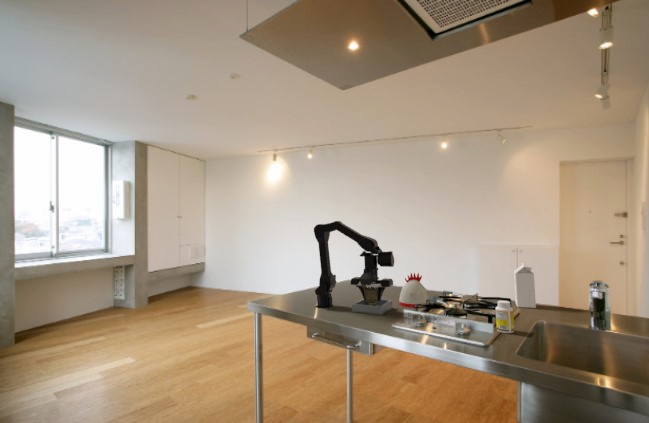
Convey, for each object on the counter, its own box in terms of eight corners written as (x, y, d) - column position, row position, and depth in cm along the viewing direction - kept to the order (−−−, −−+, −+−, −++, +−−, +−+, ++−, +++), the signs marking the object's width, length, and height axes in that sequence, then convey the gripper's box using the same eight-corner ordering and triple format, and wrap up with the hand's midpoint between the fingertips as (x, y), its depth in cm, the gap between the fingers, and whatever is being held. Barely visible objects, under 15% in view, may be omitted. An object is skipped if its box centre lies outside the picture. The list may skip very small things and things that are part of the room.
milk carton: (517, 307, 154) (515, 264, 155) (515, 304, 161) (513, 262, 162) (536, 308, 151) (533, 264, 152) (533, 304, 158) (530, 262, 159)
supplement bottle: (509, 328, 124) (508, 299, 125) (517, 333, 119) (516, 303, 119) (493, 329, 125) (492, 300, 125) (501, 333, 119) (499, 303, 119)
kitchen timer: (432, 307, 160) (431, 274, 161) (402, 308, 160) (401, 275, 161) (424, 300, 174) (423, 270, 175) (397, 301, 174) (395, 271, 175)
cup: (380, 307, 154) (379, 289, 154) (363, 307, 155) (362, 289, 156) (380, 303, 161) (380, 286, 162) (364, 303, 163) (364, 286, 163)
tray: (352, 312, 156) (351, 304, 156) (364, 305, 168) (364, 298, 168) (382, 315, 149) (381, 306, 149) (392, 307, 161) (392, 300, 161)
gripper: (344, 267, 157) (345, 302, 156) (384, 269, 148) (385, 306, 147) (355, 265, 166) (356, 298, 166) (392, 266, 157) (394, 301, 157)
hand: (372, 300), depth 159 cm, fingers closed on cup, 6 cm apart
